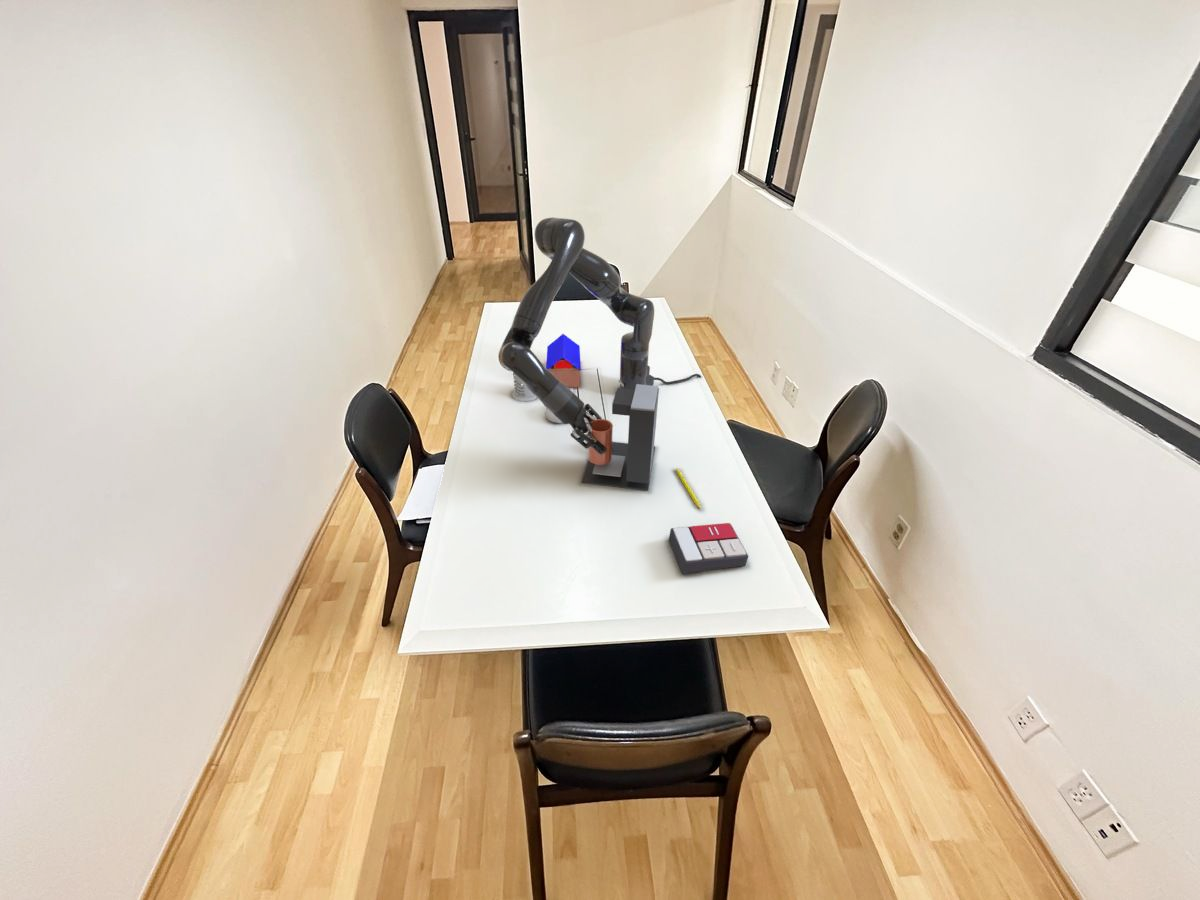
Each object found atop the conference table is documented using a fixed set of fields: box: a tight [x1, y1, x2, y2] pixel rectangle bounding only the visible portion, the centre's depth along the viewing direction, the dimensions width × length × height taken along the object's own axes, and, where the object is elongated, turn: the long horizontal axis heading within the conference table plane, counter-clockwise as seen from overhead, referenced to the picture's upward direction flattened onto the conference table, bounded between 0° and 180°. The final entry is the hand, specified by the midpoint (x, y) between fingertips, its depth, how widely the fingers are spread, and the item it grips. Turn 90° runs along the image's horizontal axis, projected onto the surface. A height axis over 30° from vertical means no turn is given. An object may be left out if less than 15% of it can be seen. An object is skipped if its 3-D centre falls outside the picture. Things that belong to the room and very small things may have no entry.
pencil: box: [675, 468, 702, 510], centre depth 139 cm, size 16×1×1 cm, turn 14°
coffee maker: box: [592, 384, 660, 485], centre depth 136 cm, size 15×12×23 cm
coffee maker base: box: [581, 440, 656, 492], centre depth 147 cm, size 18×20×3 cm
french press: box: [511, 372, 538, 402], centre depth 173 cm, size 10×12×25 cm
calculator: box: [668, 522, 749, 575], centre depth 120 cm, size 11×4×15 cm
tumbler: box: [587, 418, 614, 465], centre depth 139 cm, size 6×6×10 cm
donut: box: [544, 407, 563, 424], centre depth 167 cm, size 10×4×10 cm
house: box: [545, 333, 582, 388], centre depth 188 cm, size 12×20×12 cm, turn 3°
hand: (606, 444), depth 140 cm, fingers closed on tumbler, 6 cm apart
